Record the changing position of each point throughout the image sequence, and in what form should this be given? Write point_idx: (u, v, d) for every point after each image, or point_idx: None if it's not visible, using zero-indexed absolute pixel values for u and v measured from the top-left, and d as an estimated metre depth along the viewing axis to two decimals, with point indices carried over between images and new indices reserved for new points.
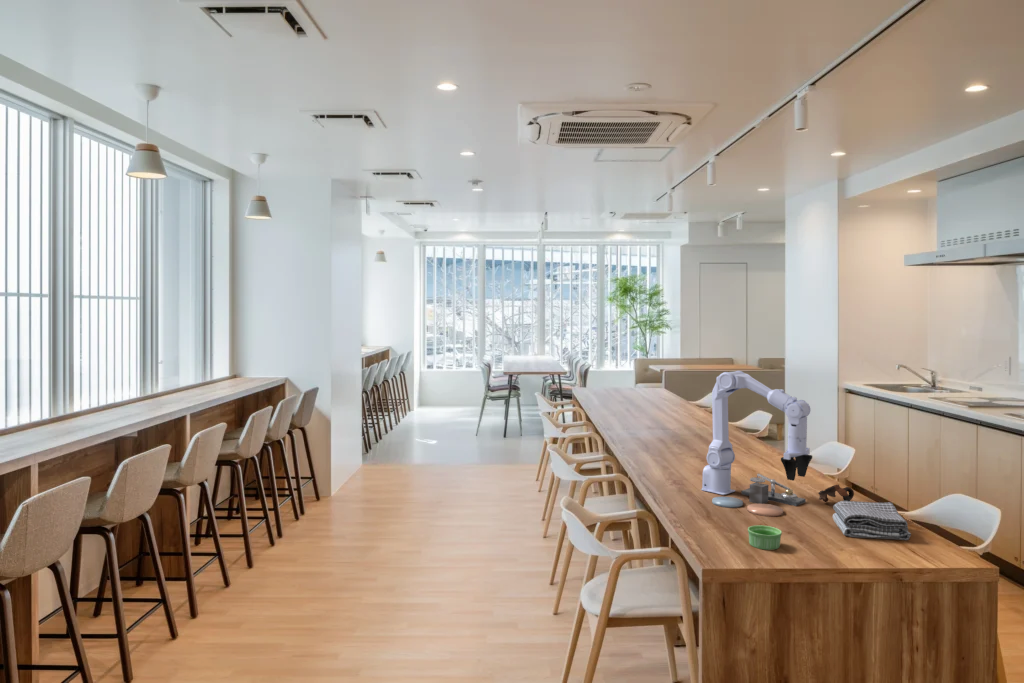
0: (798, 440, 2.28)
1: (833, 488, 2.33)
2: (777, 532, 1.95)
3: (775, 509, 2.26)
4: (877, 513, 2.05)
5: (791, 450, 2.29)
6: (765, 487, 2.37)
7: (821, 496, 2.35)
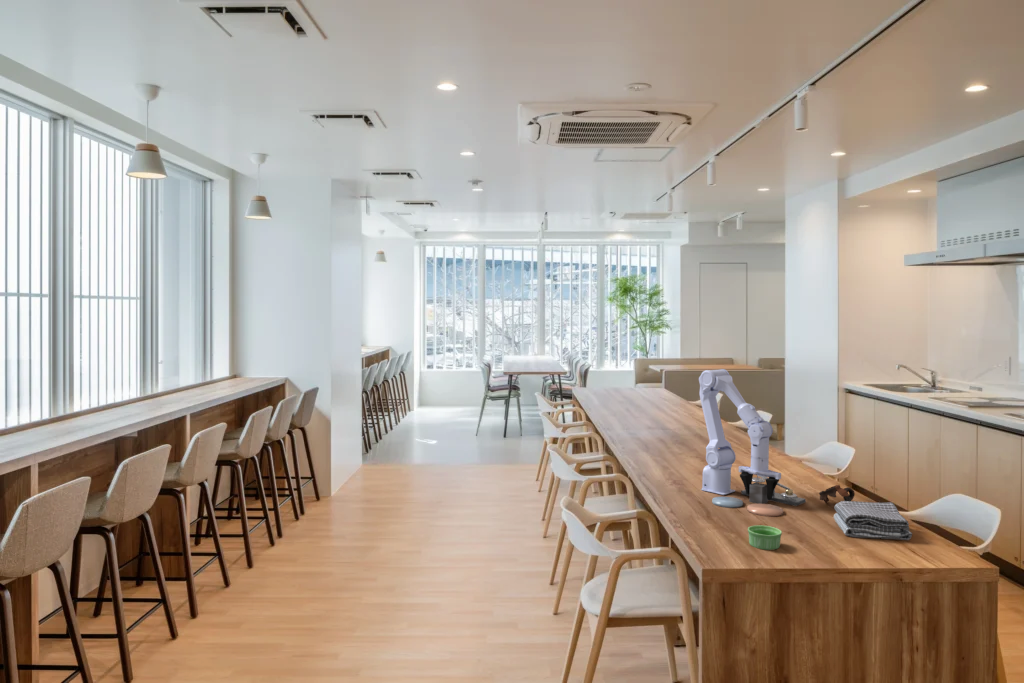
0: (751, 458, 2.39)
1: (834, 488, 2.32)
2: (777, 532, 1.95)
3: (775, 509, 2.26)
4: (878, 513, 2.05)
5: None
6: (765, 487, 2.37)
7: (822, 496, 2.34)
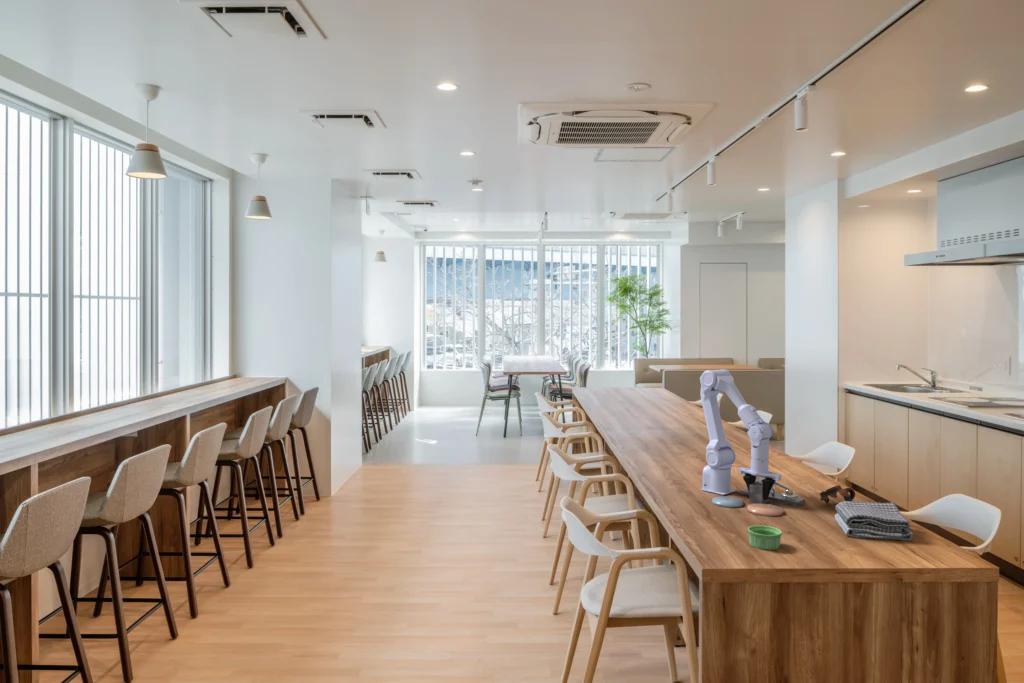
0: None
1: (834, 489, 2.32)
2: (777, 532, 1.95)
3: (775, 509, 2.26)
4: (879, 513, 2.04)
5: None
6: None
7: (822, 497, 2.34)
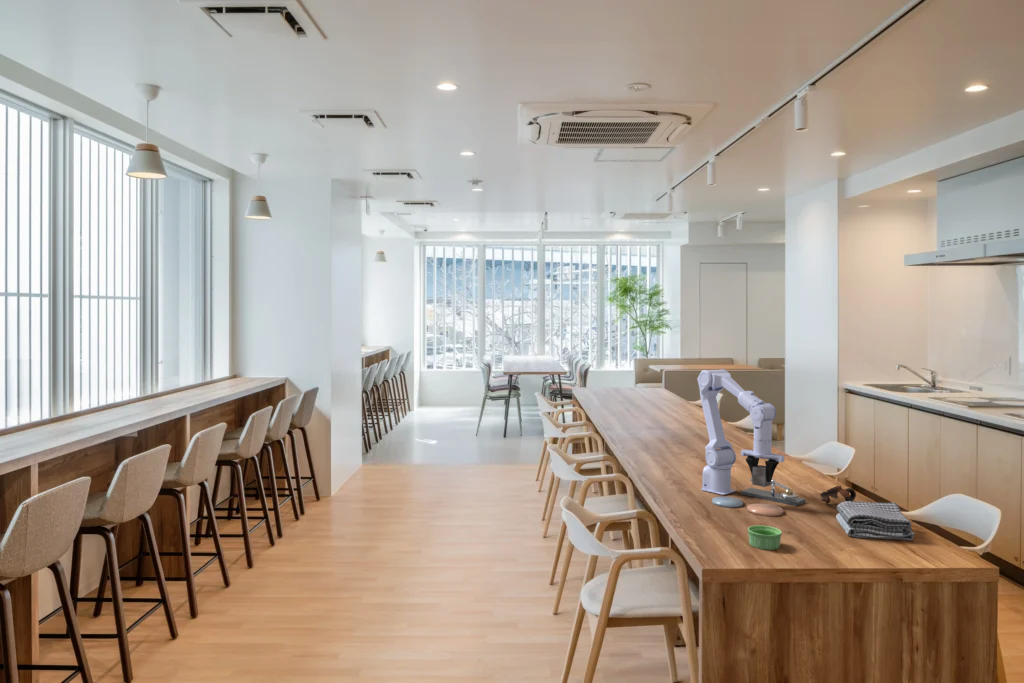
0: None
1: (835, 489, 2.31)
2: (777, 532, 1.95)
3: (775, 509, 2.26)
4: (881, 513, 2.04)
5: None
6: None
7: (823, 497, 2.33)
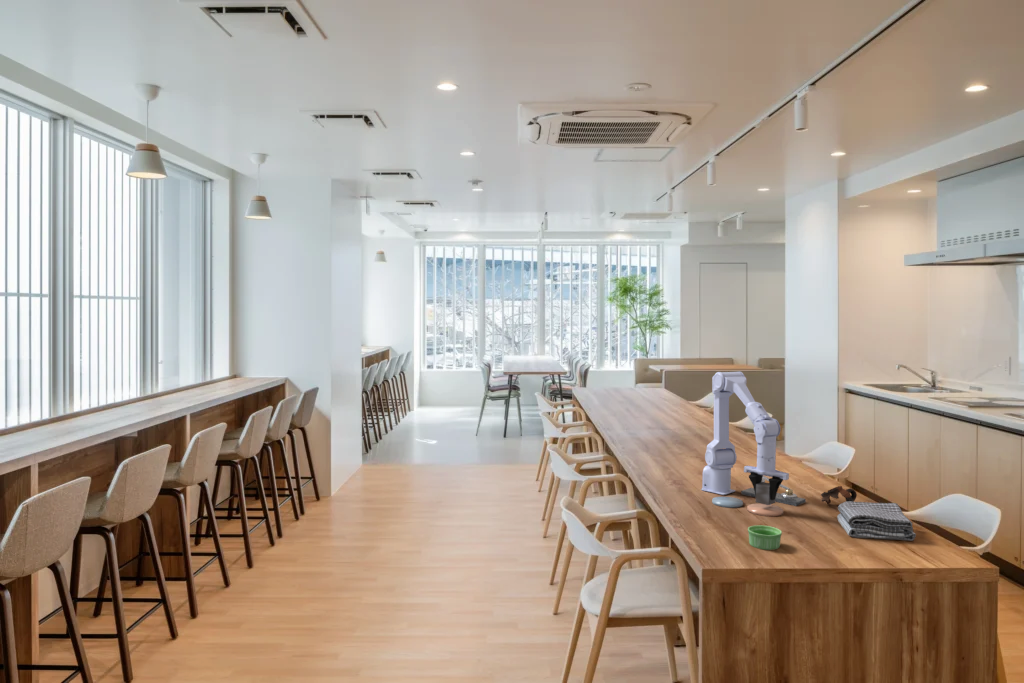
0: (757, 457, 2.28)
1: (836, 490, 2.31)
2: (777, 532, 1.95)
3: (775, 509, 2.26)
4: (882, 513, 2.04)
5: None
6: None
7: (824, 498, 2.32)
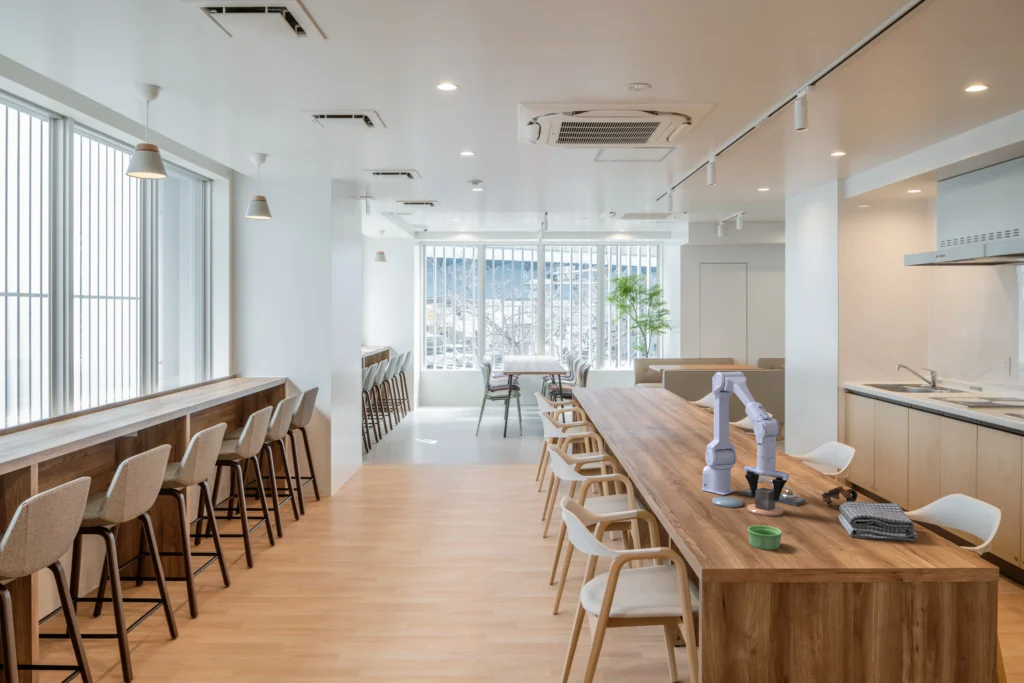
0: (757, 457, 2.28)
1: (837, 490, 2.30)
2: (777, 532, 1.95)
3: (775, 509, 2.26)
4: (883, 514, 2.04)
5: None
6: (772, 493, 2.26)
7: (825, 498, 2.32)
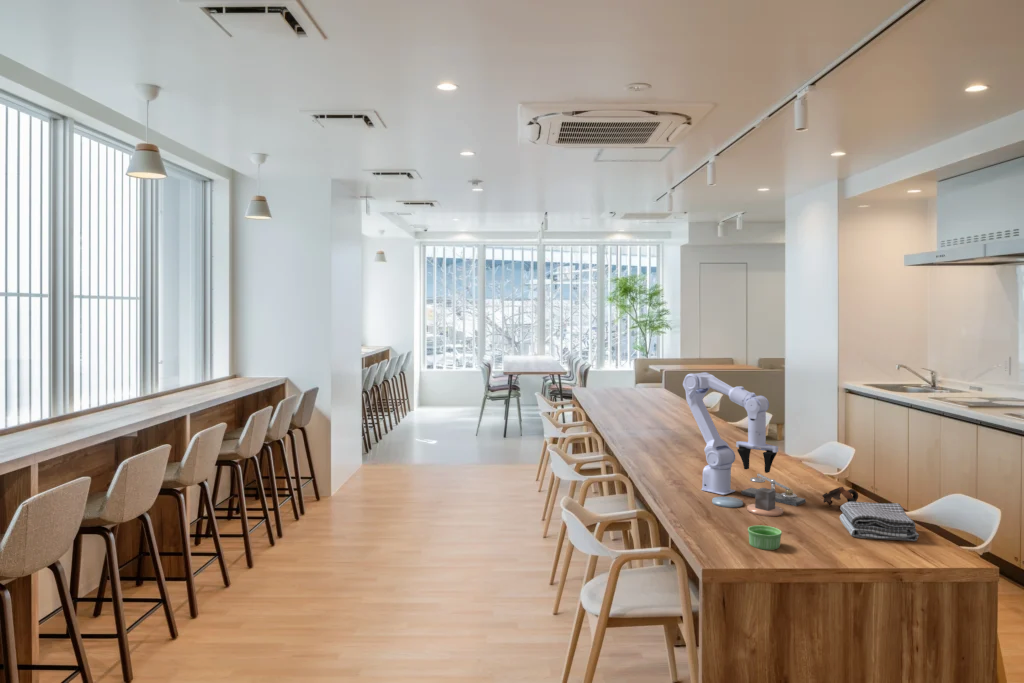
0: (748, 432, 2.41)
1: (838, 491, 2.29)
2: (777, 532, 1.95)
3: (775, 509, 2.26)
4: (885, 514, 2.04)
5: None
6: (772, 493, 2.26)
7: (826, 499, 2.31)
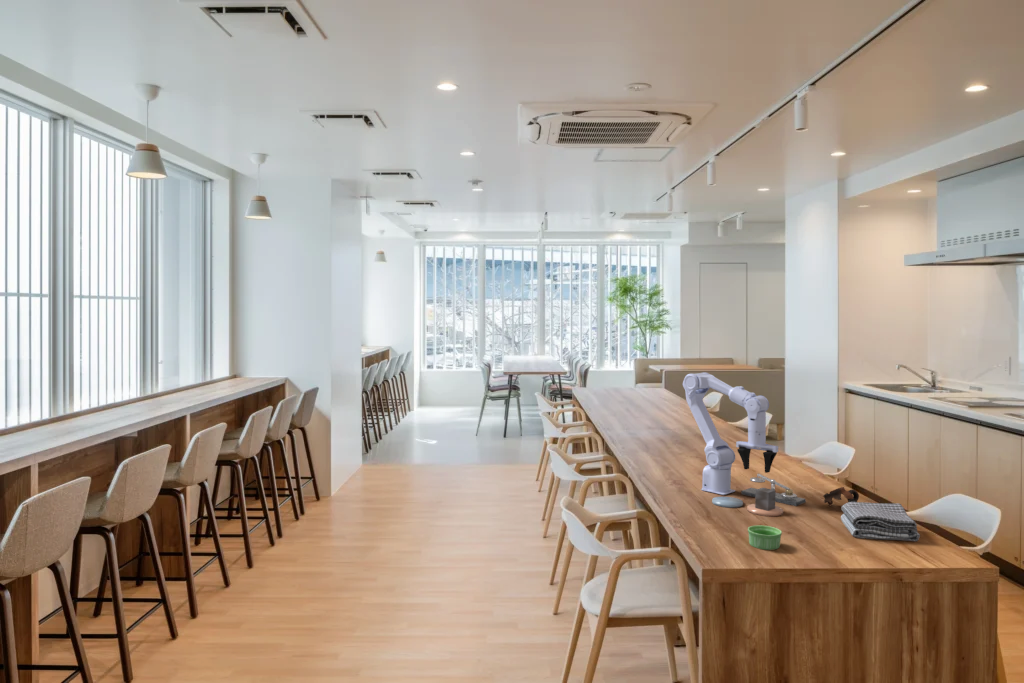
0: (748, 432, 2.41)
1: (839, 491, 2.29)
2: (777, 532, 1.95)
3: (775, 509, 2.26)
4: (886, 514, 2.04)
5: None
6: (772, 493, 2.26)
7: (826, 499, 2.31)
